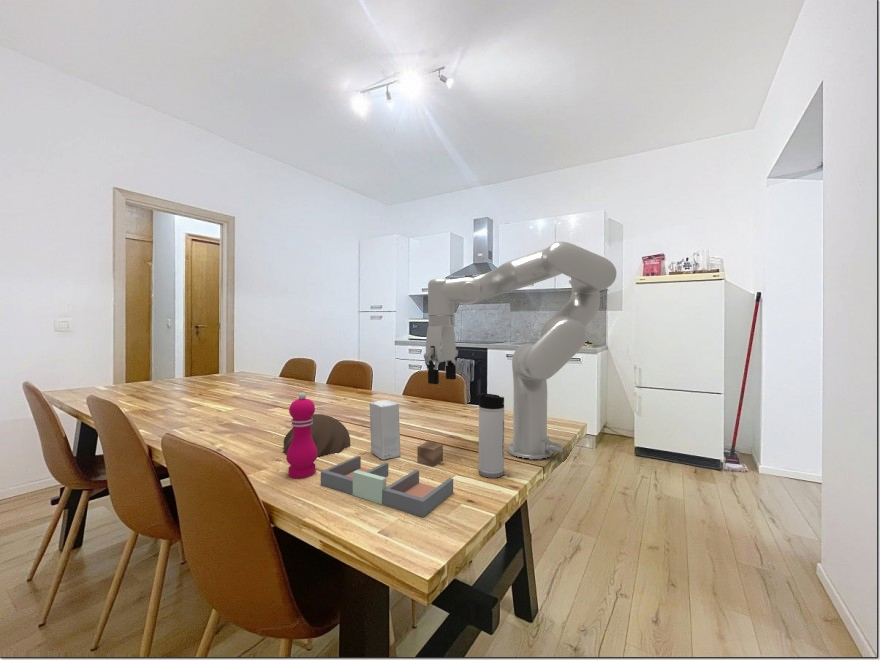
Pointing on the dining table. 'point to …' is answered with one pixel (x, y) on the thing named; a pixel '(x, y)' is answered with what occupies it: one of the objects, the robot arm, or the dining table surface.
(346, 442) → the decorative dome
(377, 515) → the dining table surface
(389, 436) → the skincare box
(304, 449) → the pepper mill
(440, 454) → the walnut block
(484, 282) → the robot arm
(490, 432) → the travel mug
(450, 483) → the bay rack
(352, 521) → the dining table surface
